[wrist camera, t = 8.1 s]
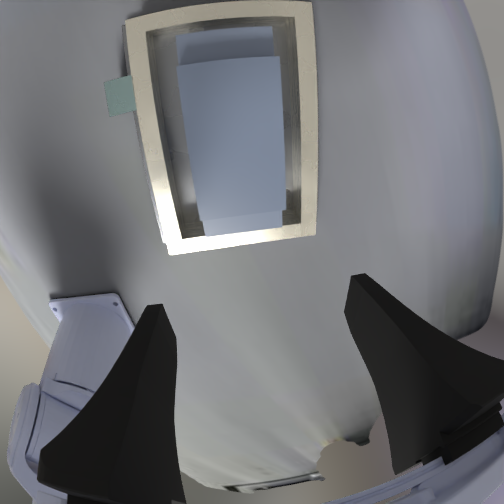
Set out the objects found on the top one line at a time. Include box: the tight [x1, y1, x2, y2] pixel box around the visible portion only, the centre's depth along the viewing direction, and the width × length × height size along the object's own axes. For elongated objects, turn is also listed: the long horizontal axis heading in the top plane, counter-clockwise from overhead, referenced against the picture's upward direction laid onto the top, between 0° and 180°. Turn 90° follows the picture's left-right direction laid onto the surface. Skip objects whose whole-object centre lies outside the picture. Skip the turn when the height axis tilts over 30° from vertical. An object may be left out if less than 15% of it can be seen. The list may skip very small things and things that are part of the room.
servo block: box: [175, 26, 286, 238], centre depth 13 cm, size 10×4×6 cm, turn 4°
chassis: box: [104, 0, 319, 255], centre depth 15 cm, size 15×12×3 cm
